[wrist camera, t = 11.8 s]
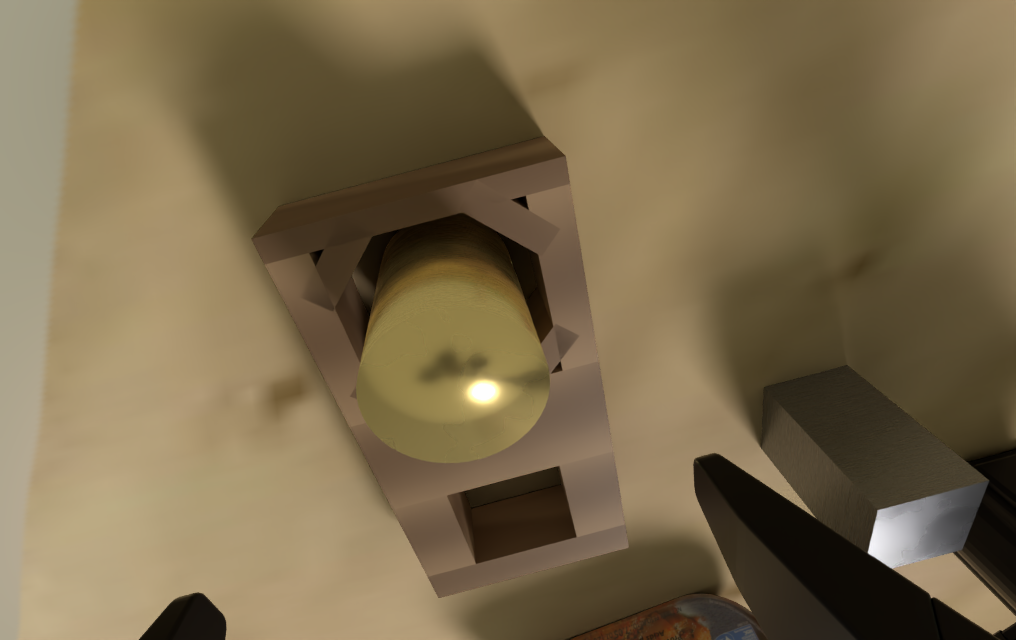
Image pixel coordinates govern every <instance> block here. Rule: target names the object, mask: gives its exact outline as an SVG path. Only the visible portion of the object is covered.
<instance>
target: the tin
mask: <svg viewBox="0 0 1016 640" xmlns="http://www.w3.org/2000/svg"><path fill="white" fill-rule="evenodd" d="M570 640H768V639H767V637H766V635H765V633H764V632H763V630H762V628H761V627H760V625H759V623H758V622H757V620H756V618H755V616H754V615H753V613H752V612H751V611H749V610H748V609H746V608H745V607H743V606H741V605H740V604H738V603H736V602H734V601H732V600H729V599H726V598H723V597H720V596H716V595H711V594H689V595H684V596H681V597H678V598H676V599H673V600H670V601H668V602H665V603H663V604H660V605H658V606H655V607H652V608H650V609H647V610H645V611H642V612H640V613H637V614H635V615H632V616H630V617H627V618H624V619H622V620H619V621H617V622H614V623H611V624H609V625H606V626H603V627H601V628H598V629H596V630H593V631H590V632H588V633H585V634H582V635H579V636H577V637H575V638H572V639H570Z"/></svg>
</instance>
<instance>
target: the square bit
mask: <svg viewBox="0 0 1016 640" xmlns="http://www.w3.org/2000/svg"><path fill="white" fill-rule="evenodd" d="M761 449H762V450H763V451H764V452H765V454H766V455H767V456H768V457H769V459H770V460H771V461H772V462H773V464H774V465H775V466H776V468H777V469H778V470H779V471H780V473H781V474H782V475H783V476H784V478H785V479H786V480H787V482H788V483H789V484H790V485H791V487H792V488H793V489H794V490H795V492H796V493H797V494H798V495H799V497H800V498H801V499H802V501H803V502H804V503H805V504H806V506H807V507H808V508H809V509H810V511H811V512H812V513H813V515H814V516H815V517H816V518H817V519H818V520H819V521H821V522H822V523H824V524H825V525H827V526H828V527H830V528H831V529H833V530H834V531H836V532H837V533H839V534H840V535H842V536H843V537H845V538H846V539H848V540H849V541H851V542H852V543H854V544H855V545H857V546H858V547H860V548H861V549H863V550H864V551H866V552H867V553H869V554H870V555H872V556H873V557H875V558H876V559H878V560H879V561H881V562H882V563H884V564H885V565H887V566H888V567H890V568H891V569H892V568H896V567H899V566H903V565H907V564H911V563H914V562H918V561H922V560H926V559H929V558H933V557H937V556H940V555H944V554H948V553H952V552H955V551H959V550H962V549H963V546H964V544H965V541H966V539H967V536H968V533H969V531H970V528H971V526H972V523H973V521H974V518H975V516H976V513H977V511H978V508H979V506H980V503H981V500H982V498H983V495H984V493H985V490H986V488H987V485H988V483H989V480H988V479H987V478H986V477H984V476H983V475H982V474H981V473H980V472H978V471H977V470H976V469H975V468H973V467H972V466H971V465H970V464H968V463H967V462H966V461H965V460H963V459H962V458H961V457H960V456H959V455H957V454H956V453H955V452H954V451H952V450H951V449H950V448H949V447H947V446H946V445H945V444H944V443H942V442H941V441H940V440H939V439H938V438H936V437H935V436H934V435H933V434H931V433H930V432H929V431H928V430H926V429H925V428H924V427H923V426H922V425H920V424H919V423H918V422H917V421H915V420H914V419H913V418H912V417H910V416H909V415H908V414H907V413H905V412H904V411H903V410H902V409H901V408H899V407H898V406H897V405H896V404H894V403H893V402H892V401H891V400H889V399H888V398H887V397H886V396H884V395H883V394H882V393H881V392H880V391H878V390H877V389H876V388H875V387H873V386H872V385H871V384H870V383H868V382H867V381H866V380H865V379H863V378H862V377H861V376H860V375H859V374H857V373H856V372H855V371H854V370H852V369H851V368H850V367H849V366H847V365H846V366H842V367H839V368H835V369H831V370H827V371H823V372H820V373H816V374H812V375H808V376H805V377H801V378H797V379H793V380H790V381H786V382H782V383H778V384H775V385H771V386H767V387H764V396H763V417H762V438H761Z"/></svg>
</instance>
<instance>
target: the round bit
mask: <svg viewBox="0 0 1016 640" xmlns="http://www.w3.org/2000/svg"><path fill="white" fill-rule="evenodd" d="M549 390H550V374H549V367H548V364H547V361H546V358H545V355H544V352H543V349H542V347H541V344H540V341H539V338H538V335H537V332H536V329H535V327H534V324H533V321H532V318H531V315H530V312H529V309H528V306H527V304H526V301H525V298H524V295H523V292H522V289H521V286H520V284H519V281H518V278H517V275H516V272H515V269H514V266H513V264H512V261H511V258H510V255H509V252H508V250H507V248H506V246H505V244H504V242H503V241H502V239H501V238H500V236H499V235H498V234H497V233H496V232H495V231H494V230H493V229H492V228H490V227H488V226H486V225H485V224H483V223H481V222H479V221H477V220H476V219H474V218H472V217H470V216H468V215H465V214H461V213H458V214H454V215H451V216H447V217H443V218H439V219H435V220H432V221H428V222H424V223H420V224H417V225H413V226H409V227H405V228H401V229H400V230H399V231H398V232H397V233H396V234H395V235H394V236H393V237H392V239H391V240H390V242H389V243H388V245H387V247H386V249H385V251H384V254H383V257H382V261H381V266H380V271H379V275H378V280H377V285H376V290H375V295H374V299H373V304H372V309H371V314H370V319H369V323H368V328H367V333H366V338H365V343H364V347H363V352H362V357H361V362H360V367H359V371H358V376H357V384H356V394H357V401H358V406H359V409H360V412H361V414H362V417H363V419H364V420H365V422H366V424H367V425H368V427H369V428H370V429H371V430H372V432H373V433H374V434H375V435H376V436H377V437H378V438H379V439H380V440H381V441H383V442H384V443H385V444H387V445H388V446H390V447H391V448H393V449H395V450H396V451H398V452H400V453H402V454H405V455H407V456H410V457H412V458H416V459H419V460H423V461H429V462H436V463H461V462H469V461H473V460H478V459H482V458H485V457H488V456H491V455H493V454H496V453H498V452H500V451H502V450H504V449H506V448H508V447H509V446H511V445H513V444H514V443H515V442H517V441H518V440H520V439H521V438H522V437H523V436H524V435H525V434H526V433H528V431H529V430H530V429H531V428H532V427H533V426H534V425H535V423H536V422H537V420H538V419H539V417H540V416H541V414H542V412H543V410H544V408H545V406H546V403H547V400H548V396H549Z"/></svg>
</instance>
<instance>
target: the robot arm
mask: <svg viewBox="0 0 1016 640" xmlns="http://www.w3.org/2000/svg"><path fill="white" fill-rule="evenodd" d="M968 464H970V465H971V466H972V467H973V468H975V469H976V470H977V471H978V472H980V473H981V474H982V475H983V476H984V477H986V478H987V479H988V480H989V483H988V485H987V488H986V490H985V493H984V495H983V498H982V500H981V503H980V506H979V508H978V511H977V513H976V516H975V518H974V521H973V523H972V526H971V528H970V531H969V533H968V536H967V539H966V541H965V544H964V546H963V549H962V550H959V551H955V552H953V553H954V554H955V555H956V556H957V557H958V558H959V559H960V560H961V561H962V562H963V563H964V564H965V565H966V567H967V568H968V569H969V570H970V571H971V572H972V573H973V574H974V575H975V576H976V577H977V578H978V579H979V580H980V581H981V582H982V583H983V584H984V585H985V586H986V587H987V588H988V589H989V590H990V591H991V592H992V593H993V594H994V595H995V596H996V597H997V598H998V599H999V600H1000V601H1001V602H1002V603H1003V604H1004V605H1005V606H1006V607H1007V608H1008V609H1009V610H1010V611H1011V612H1012V613H1013V614H1014V615H1015V616H1016V450H1014V451H1010V452H1006V453H1002V454H999V455H995V456H991V457H987V458H984V459H980V460H976V461H972V462H969V463H968ZM693 466H694V487H695V493H696V497H697V499H698V502H699V504H700V506H701V509H702V511H703V513H704V515H705V517H706V520H707V522H708V524H709V526H710V528H711V531H712V533H713V535H714V537H715V539H716V542H717V544H718V546H719V548H720V550H721V553H722V555H723V557H724V559H725V561H726V564H727V566H728V568H729V570H730V572H731V574H732V577H733V579H734V581H735V583H736V585H737V587H738V588H739V590H740V592H741V594H742V596H743V598H744V599H745V601H746V603H747V604H748V606H749V608H750V610H751V611H752V613H753V615H754V616H755V618H756V620H757V622H758V623H759V625H760V627H761V628H762V630H763V632H764V633H765V635H766V637H767V639H768V640H1016V623H1014V624H1013V625H1011V626H1010V627H1008V628H1007V629H1005V630H1004V631H1001V630H999V631H998V632H996V633H995V634H993V635H992V634H991V633H989V632H988V631H986V630H984V629H983V628H981V627H980V626H978V625H977V624H975V623H973V622H972V621H970V620H969V619H967V618H966V617H964V616H963V615H961V614H960V613H958V612H957V611H955V610H953V609H952V608H950V607H949V606H947V605H946V604H944V603H943V602H941V601H940V600H938V599H937V598H931V597H930V595H929V593H928V592H926V591H925V590H923V589H922V588H920V587H919V586H917V585H916V584H914V583H913V582H911V581H910V580H908V579H906V578H905V577H903V576H902V575H900V574H899V573H897V572H896V571H894V570H893V569H891V568H890V567H888V566H887V565H885V564H884V563H882V562H881V561H879V560H878V559H876V558H875V557H873V556H872V555H870V554H869V553H867V552H866V551H864V550H863V549H861V548H860V547H858V546H857V545H855V544H854V543H852V542H851V541H849V540H848V539H846V538H845V537H843V536H842V535H840V534H839V533H837V532H836V531H834V530H833V529H831V528H830V527H828V526H827V525H825V524H824V523H822V522H821V521H819V520H818V519H816V518H815V517H813V516H812V515H810V514H809V513H807V512H806V511H804V510H803V509H801V508H800V507H798V506H797V505H795V504H794V503H792V502H791V501H789V500H788V499H786V498H784V497H783V496H781V495H780V494H778V493H777V492H775V491H774V490H772V489H771V488H769V487H768V486H766V485H765V484H763V483H762V482H760V481H759V480H757V479H756V478H754V477H753V476H751V475H750V474H748V473H747V472H745V471H744V470H742V469H741V468H739V467H738V466H736V465H735V464H733V463H732V462H730V461H729V460H727V459H726V458H724V457H723V456H721V455H719V454H716V453H712V454H708V455H704V456H701V457H697V458H695V460H694V464H693ZM225 637H226V620H225V617H224V615H223V614H222V613H221V612H220V611H219V610H218V609H217V608H216V606H215V605H214V604H213V603H212V602H211V601H210V600H209V599H208V598H207V597H206V596H205V595H204V594H202V593H199V592H198V593H193V594H189V595H185V596H182V597H179V598H177V599H175V600H173V601H172V602H171V603H170V604H169V605H168V606H167V608H166V609H165V610H164V611H163V612H162V613H161V615H160V616H159V617H158V618H157V619H156V620H155V621H154V623H153V624H152V625H151V626H150V627H149V628H148V630H147V631H146V632H145V633H144V634H143V635H142V636H141V638H140V639H139V640H225Z"/></svg>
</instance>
